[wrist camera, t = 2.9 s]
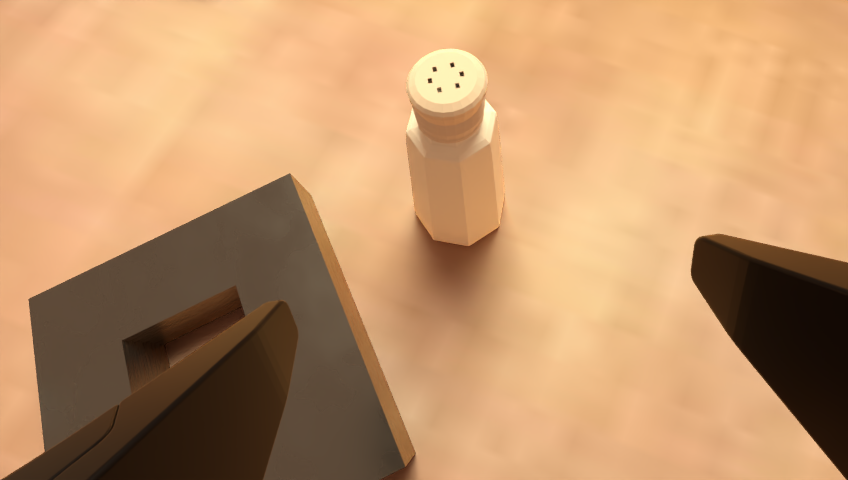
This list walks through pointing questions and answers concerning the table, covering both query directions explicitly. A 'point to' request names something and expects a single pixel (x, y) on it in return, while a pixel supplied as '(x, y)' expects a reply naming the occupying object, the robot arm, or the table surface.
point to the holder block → (210, 299)
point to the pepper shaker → (454, 148)
